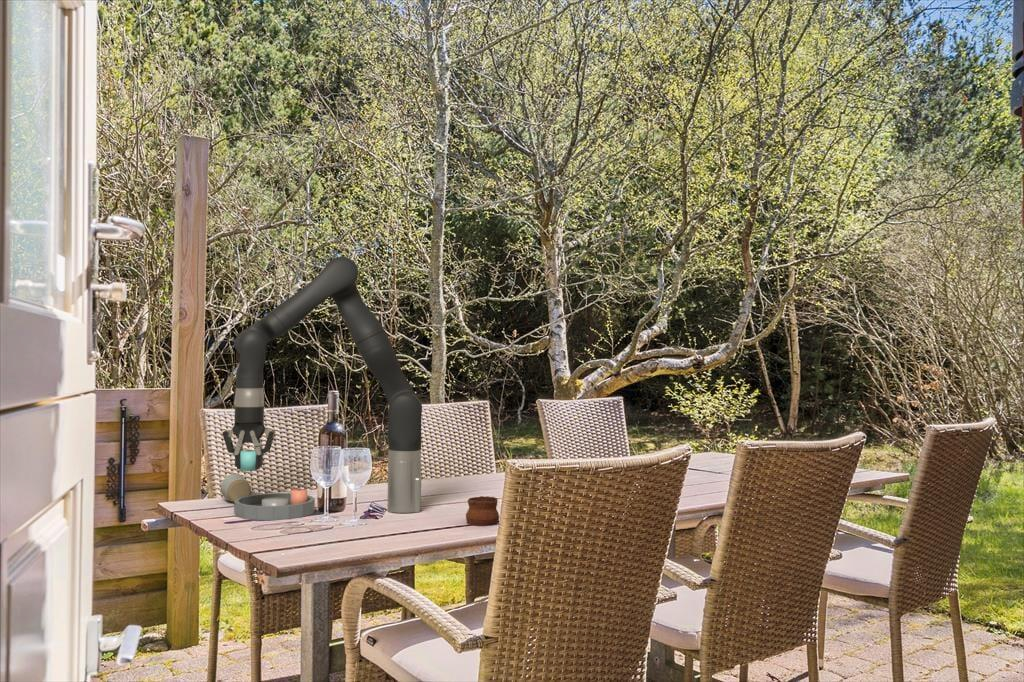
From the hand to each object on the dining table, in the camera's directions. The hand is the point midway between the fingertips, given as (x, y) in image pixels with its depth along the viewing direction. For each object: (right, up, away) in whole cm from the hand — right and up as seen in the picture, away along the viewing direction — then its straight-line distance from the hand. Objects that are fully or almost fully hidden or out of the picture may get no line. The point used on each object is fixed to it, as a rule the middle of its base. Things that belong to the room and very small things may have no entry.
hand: (248, 468), depth 231 cm
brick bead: (+12, -12, +7) cm, 18 cm away
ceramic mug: (-9, -13, +23) cm, 28 cm away
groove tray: (+5, -13, +7) cm, 16 cm away
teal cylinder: (0, 0, 0) cm, 0 cm away
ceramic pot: (+63, -15, -2) cm, 64 cm away
